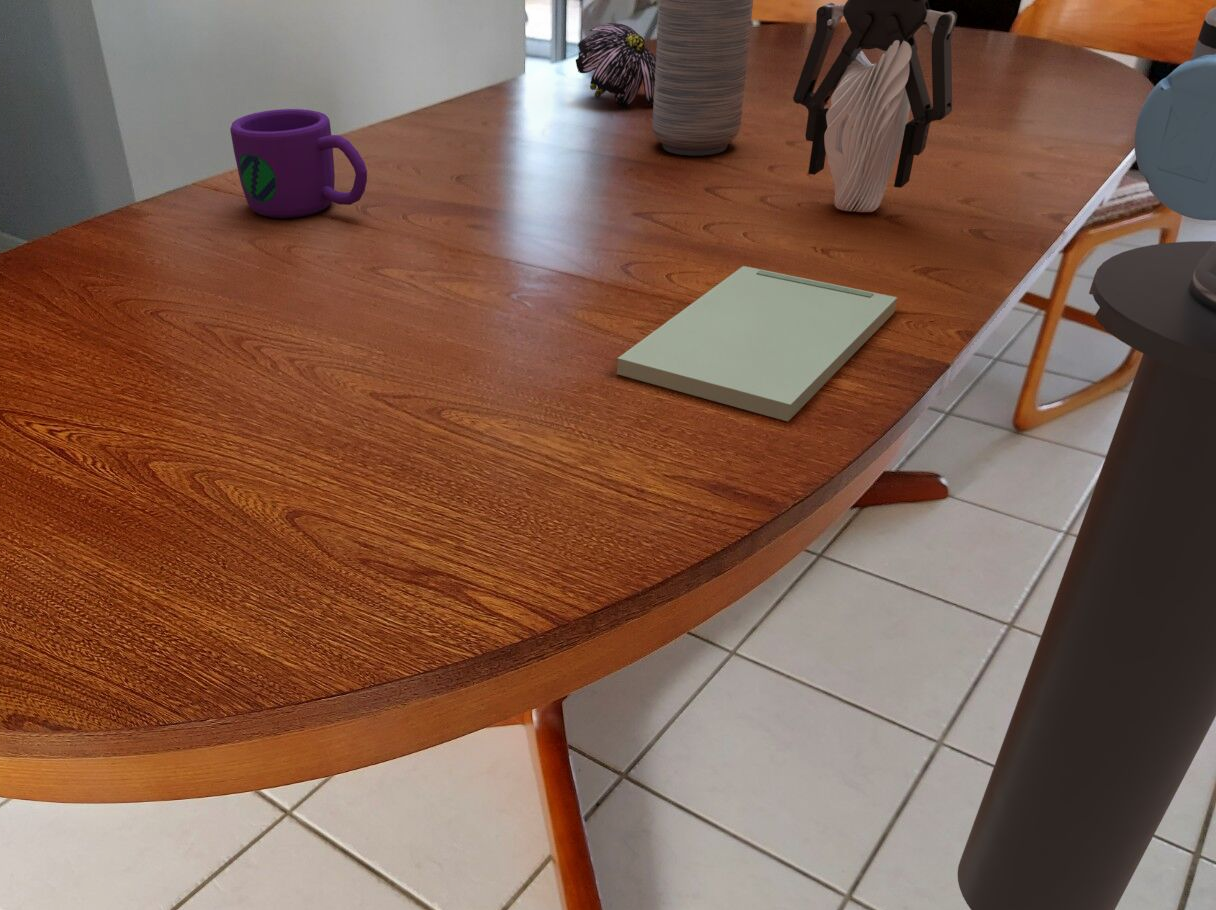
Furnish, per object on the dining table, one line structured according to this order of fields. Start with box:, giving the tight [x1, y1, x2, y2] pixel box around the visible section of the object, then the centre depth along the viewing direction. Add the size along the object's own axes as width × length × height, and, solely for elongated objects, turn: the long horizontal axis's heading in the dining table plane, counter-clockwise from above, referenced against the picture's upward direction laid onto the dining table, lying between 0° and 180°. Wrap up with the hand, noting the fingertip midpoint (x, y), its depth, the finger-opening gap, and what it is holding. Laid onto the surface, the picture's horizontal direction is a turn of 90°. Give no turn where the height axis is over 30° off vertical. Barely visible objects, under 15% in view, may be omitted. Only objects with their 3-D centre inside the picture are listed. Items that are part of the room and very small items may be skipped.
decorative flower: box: [575, 22, 656, 110], centre depth 160 cm, size 14×12×15 cm
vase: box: [651, 0, 754, 157], centre depth 133 cm, size 12×12×23 cm
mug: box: [230, 108, 368, 219], centre depth 120 cm, size 17×11×10 cm, turn 60°
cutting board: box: [616, 265, 898, 423], centre depth 90 cm, size 24×15×2 cm, turn 144°
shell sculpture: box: [824, 40, 912, 213], centre depth 112 cm, size 8×8×18 cm
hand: (857, 177), depth 116 cm, fingers open, 9 cm apart
